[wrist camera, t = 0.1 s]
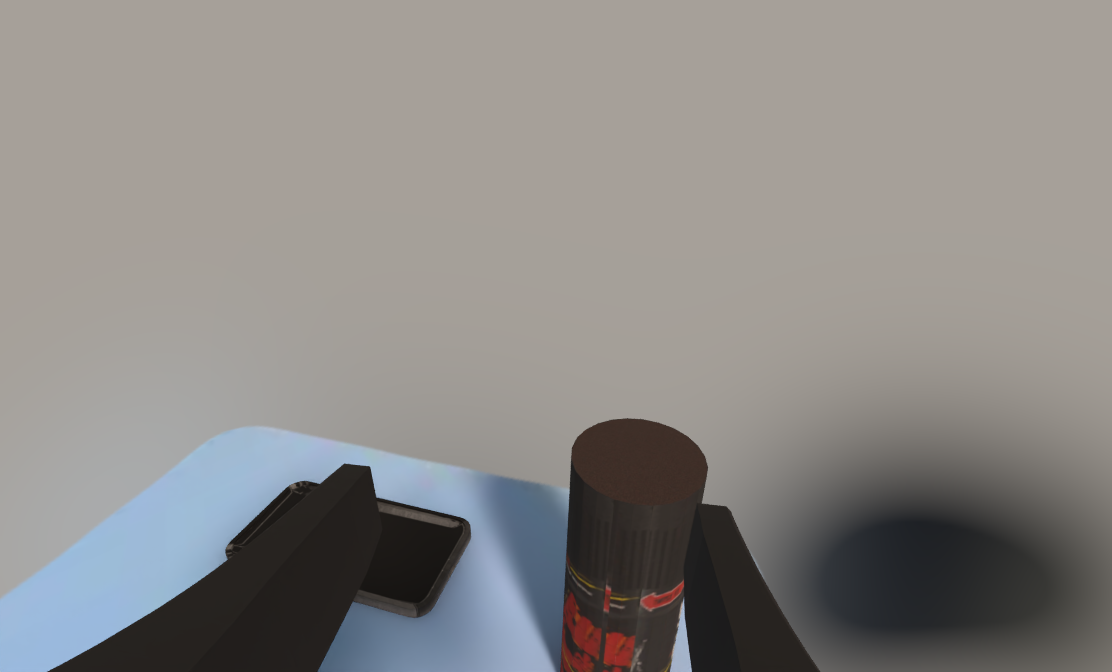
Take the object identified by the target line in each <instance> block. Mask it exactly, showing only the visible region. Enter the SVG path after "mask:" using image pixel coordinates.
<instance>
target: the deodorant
mask: <svg viewBox="0 0 1112 672" xmlns="http://www.w3.org/2000/svg"><path fill="white" fill-rule="evenodd" d="M707 470H708V466H707V463H706V459H705V456H704V454H703V453H702V451H701V450H700V448H699V447H698V445H696V444H695V443H694V442H693V441H692V440H691V439H690V438H689V437H687V436H686V435H684V434H683V433H681V432H679V431H677V430H676V429H674V428H671V427H669V426H666V425H663V424H660V423H657V422H652V421H648V420H643V419H628V418H627V419H616V420H609V421H606V422H602V423H598V424H596V425H594V426H592V427H590V428H588V429H586V430H585V431H584V432H583V433H582V434H581V435H580V436H578V437H577V439H576V441H575V443H574V445H573V447H572V456H571V475H570V494H569V513H568V533H567V553H566V572H565V592H564V611H563V631H562V650H561V670H560V672H670V668H671V662H672V657H673V652H674V646H675V641H676V636H677V631H678V625H679V620H680V615H681V609H682V604H683V599H684V562H685V557H686V552H687V548H688V543H689V538H690V533H691V529H692V524H693V519H694V514H695V509H696V505H697V503H700V504H702V498H703V493H704V488H705V482H706V477H707Z"/></svg>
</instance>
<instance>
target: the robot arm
mask: <svg viewBox="0 0 1112 672" xmlns="http://www.w3.org/2000/svg"><path fill="white" fill-rule="evenodd" d="M382 530H383V529H382V524H381V519H380V514H379V509H378V504H377V499H376V494H375V489H374V484H373V479H372V474H371V469H370V467H369V466H360V465H351V464H343V465H342V466H341V467H340V468H339V469H337V470H336V471H335V472H334V473H332V474H331V475H330V476H329V477H328V478H327V479H325V480H324V481H323V482H322V483H321V484H320V485H318V486H317V487H316V488H315V489H314V490H313V491H311V492H310V493H309V494H308V495H307V496H306V497H305V498H303V499H302V500H301V501H300V502H299V503H298V504H296V505H295V506H294V507H293V508H292V509H290V510H289V511H288V512H287V513H286V514H284V515H283V516H282V517H281V518H280V519H278V520H277V521H276V522H275V523H274V524H272V525H271V526H270V527H269V528H268V529H266V530H265V531H264V532H263V533H262V534H260V535H259V536H258V537H257V538H255V539H254V540H253V541H252V542H250V543H249V544H248V545H246V546H245V547H244V548H242V549H241V550H240V551H239V552H237V553H236V554H235V555H233V556H232V557H231V558H229V559H228V560H227V561H225V562H224V563H223V564H222V565H220V566H219V567H218V568H216V569H215V570H214V571H212V572H211V573H209V574H208V575H207V576H205V577H204V578H202V579H201V580H200V581H198V582H197V583H195V584H194V585H192V586H191V587H190V588H188V589H187V590H185V591H184V592H182V593H181V594H179V595H178V596H176V597H174V598H173V599H171V600H170V601H168V602H167V603H165V604H164V605H162V606H161V607H159V608H158V609H156V610H155V611H153V612H151V613H150V614H148V615H146V616H145V617H143V618H141V619H140V620H138V621H136V622H135V623H133V624H131V625H130V626H128V627H126V628H125V629H123V630H121V631H120V632H118V633H116V634H115V635H113V636H111V637H110V638H108V639H106V640H105V641H103V642H101V643H99V644H98V645H96V646H94V647H92V648H91V649H89V650H87V651H85V652H83V653H81V654H80V655H78V656H76V657H74V658H72V659H70V660H69V661H67V662H65V663H63V664H61V665H59V666H57V667H55V668H53V669H52V670H50V671H48V672H317V671H318V669H319V667H320V665H321V663H322V661H323V660H324V658H325V656H326V654H327V652H328V650H329V648H330V646H331V644H332V642H333V640H334V638H335V636H336V634H337V632H338V630H339V628H340V626H341V624H342V622H343V620H344V618H345V616H346V614H347V612H348V610H349V608H350V606H351V604H352V602H353V600H354V598H355V596H356V594H357V592H358V590H359V588H360V586H361V584H362V582H363V580H364V578H365V576H366V574H367V571H368V569H369V566H370V563H371V561H372V558H373V555H374V553H375V550H376V547H377V544H378V541H379V538H380V535H381V533H382ZM684 606H685V621H686V629H687V637H688V645H689V653H690V660H691V668H692V672H820V671H819V669H818V668H817V666H816V665H815V663H814V662H813V660H812V659H811V658H810V656H809V654H808V653H807V651H806V650H805V648H804V647H803V645H802V643H801V642H800V640H799V639H798V637H797V636H796V634H795V633H794V631H793V629H792V628H791V626H790V625H789V623H788V621H787V619H786V618H785V616H784V615H783V613H782V611H781V609H780V608H779V606H778V604H777V602H776V601H775V599H774V597H773V595H772V593H771V592H770V590H769V588H768V586H767V585H766V583H765V581H764V579H763V577H762V575H761V574H760V572H759V570H758V568H757V566H756V564H755V562H754V560H753V558H752V556H751V554H750V552H749V550H748V548H747V546H746V544H745V542H744V540H743V538H742V536H741V534H740V532H739V530H738V527H737V525H736V523H735V520H734V518H733V516H732V513H731V511H730V510H729V509H728V508H727V507H726V506H717V505H709V504H700V503H697V505H696V509H695V514H694V519H693V524H692V529H691V533H690V538H689V543H688V548H687V552H686V557H685V562H684Z"/></svg>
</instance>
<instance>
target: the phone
mask: <svg viewBox="0 0 1112 672" xmlns="http://www.w3.org/2000/svg"><path fill="white" fill-rule="evenodd" d="M318 485H320V484H317V483H313V482H309V481H300V482H296V483H294V484H291V485H290V486H288V487H287V488H286V489H285V490H284V491H283V492H281V493H280V494H279V495H278V496H277V497H276V498H275V499H274V500H273V501H272V502H271V503H270V504H269V505H268V506H267V507H266V508H265V509H264V510H263V511H262V512H261V513H260V514H259V515H258V516H257V517H255V518H254V519H253V520H252V521H251V522H250V523H249V524H248V525H247V526H246V527H245V528H244V529H243V530H242V531H241V532H240V533H239V534H238V535H237V536H236V537H235V538H234V539H233V540H232V541H231V542H230V543H229V544H228V545H227V547H226V550H225V551H226V556H227V559H229V558H231V557H232V556H233V555H235V554H236V553H237V552H239V551H240V550H241V549H242V548H244V547H245V546H246V545H248V544H249V543H250V542H252V541H253V540H254V539H255V538H257V537H258V536H259V535H260V534H262V533H263V532H264V531H265V530H266V529H268V528H269V527H270V526H271V525H272V524H274V523H275V522H276V521H277V520H278V519H280V518H281V517H282V516H283V515H284V514H286V513H287V512H288V511H289V510H290V509H292V508H293V507H294V506H295V505H296V504H298V503H299V502H300V501H301V500H302V499H303V498H305V497H306V496H307V495H308V494H309V493H310V492H311V491H313V490H314V489H315V488H316V487H317V486H318ZM376 499H377V504H378V509H379V514H380V519H381V524H382V529H383V530H382V533H381V535H380V538H379V541H378V544H377V547H376V550H375V553H374V555H373V558H372V561H371V563H370V566H369V569H368V571H367V574H366V576H365V578H364V580H363V582H362V584H361V586H360V588H359V590H358V592H357V594H356V596H355V598H354V600H353V601H354V602H358V603H361V604H365V605H368V606H372V607H375V608H378V609H382V610H385V611H389V612H392V613H396V614H399V615H403V616H406V617H412V618H416V617H421V616H423V615H425V614H427V613H428V612H429V611H431V610H432V608H433V607H434V605H435V604H436V602H437V600H438V598H439V596H440V594H441V593H442V591H443V589H444V587H445V585H446V583H447V582H448V580H449V578H450V576H451V574H452V573H453V571H454V569H455V567H456V565H457V563H458V562H459V560H460V558H461V556H462V554H463V552H464V551H465V549H466V547H467V545H468V543H469V541H470V539H471V529H470V524H469V522H468V521H467V520H465V519H463V518H461V517H457V516H452V515H448V514H444V513H440V512H436V511H431V510H427V509H423V508H419V507H414V506H410V505H406V504H402V503H398V502H393V501H389V500H385V499H381V498H376ZM450 570H451V571H450ZM438 594H439V595H438Z"/></svg>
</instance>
